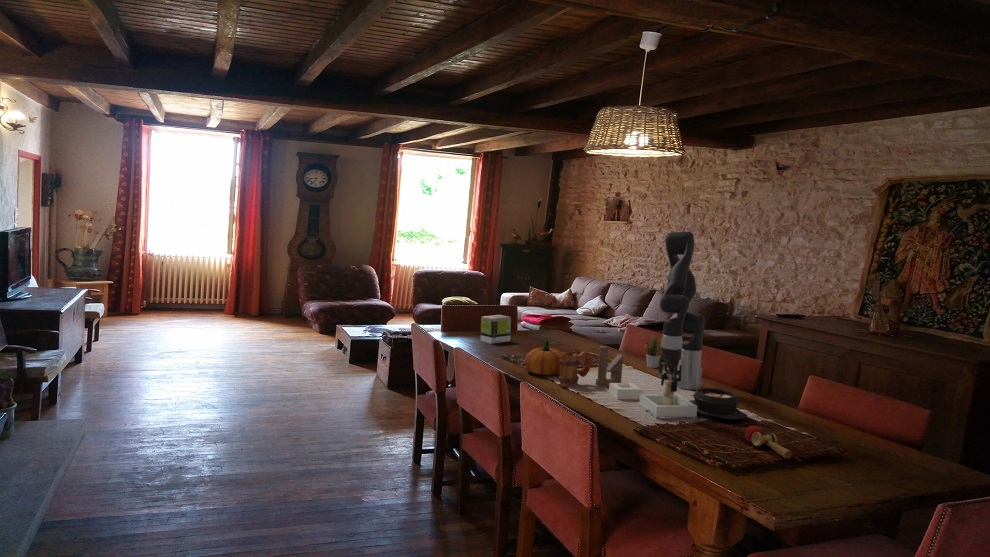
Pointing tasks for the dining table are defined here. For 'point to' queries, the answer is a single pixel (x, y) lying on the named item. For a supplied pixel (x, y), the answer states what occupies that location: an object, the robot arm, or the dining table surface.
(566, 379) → the mug
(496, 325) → the tea box
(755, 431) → the kendama
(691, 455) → the dining table surface
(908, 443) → the dining table surface
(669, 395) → the dowel
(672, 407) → the tray
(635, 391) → the holder
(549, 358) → the pumpkin
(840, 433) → the dining table surface
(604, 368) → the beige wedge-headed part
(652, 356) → the house plant
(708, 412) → the casserole
